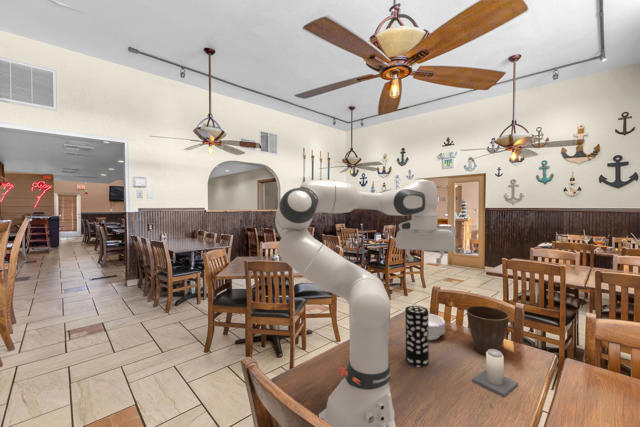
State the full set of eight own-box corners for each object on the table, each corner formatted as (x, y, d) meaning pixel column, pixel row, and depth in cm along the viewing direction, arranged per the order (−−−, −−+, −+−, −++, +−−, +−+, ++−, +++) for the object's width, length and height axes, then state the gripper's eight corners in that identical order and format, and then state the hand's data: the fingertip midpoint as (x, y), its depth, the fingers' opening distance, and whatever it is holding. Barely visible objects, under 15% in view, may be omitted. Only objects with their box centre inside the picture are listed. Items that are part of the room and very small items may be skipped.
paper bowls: (435, 347, 123) (435, 328, 123) (403, 335, 134) (403, 318, 134) (451, 335, 133) (451, 318, 133) (420, 326, 144) (420, 310, 144)
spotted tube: (430, 368, 107) (430, 314, 107) (406, 366, 109) (406, 313, 108) (426, 356, 115) (426, 306, 115) (404, 354, 117) (404, 305, 116)
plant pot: (506, 365, 108) (506, 322, 108) (462, 353, 118) (462, 313, 117) (511, 349, 120) (511, 311, 120) (470, 339, 129) (470, 303, 129)
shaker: (496, 386, 94) (496, 356, 94) (482, 378, 99) (482, 349, 99) (507, 383, 96) (507, 353, 96) (493, 375, 101) (493, 347, 100)
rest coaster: (504, 397, 91) (504, 394, 91) (471, 381, 99) (471, 378, 99) (518, 385, 96) (518, 382, 96) (486, 371, 105) (486, 368, 105)
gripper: (456, 224, 104) (456, 263, 104) (398, 223, 113) (398, 259, 113) (455, 225, 98) (456, 266, 98) (394, 224, 107) (394, 262, 107)
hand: (424, 262), depth 106 cm, fingers open, 8 cm apart
